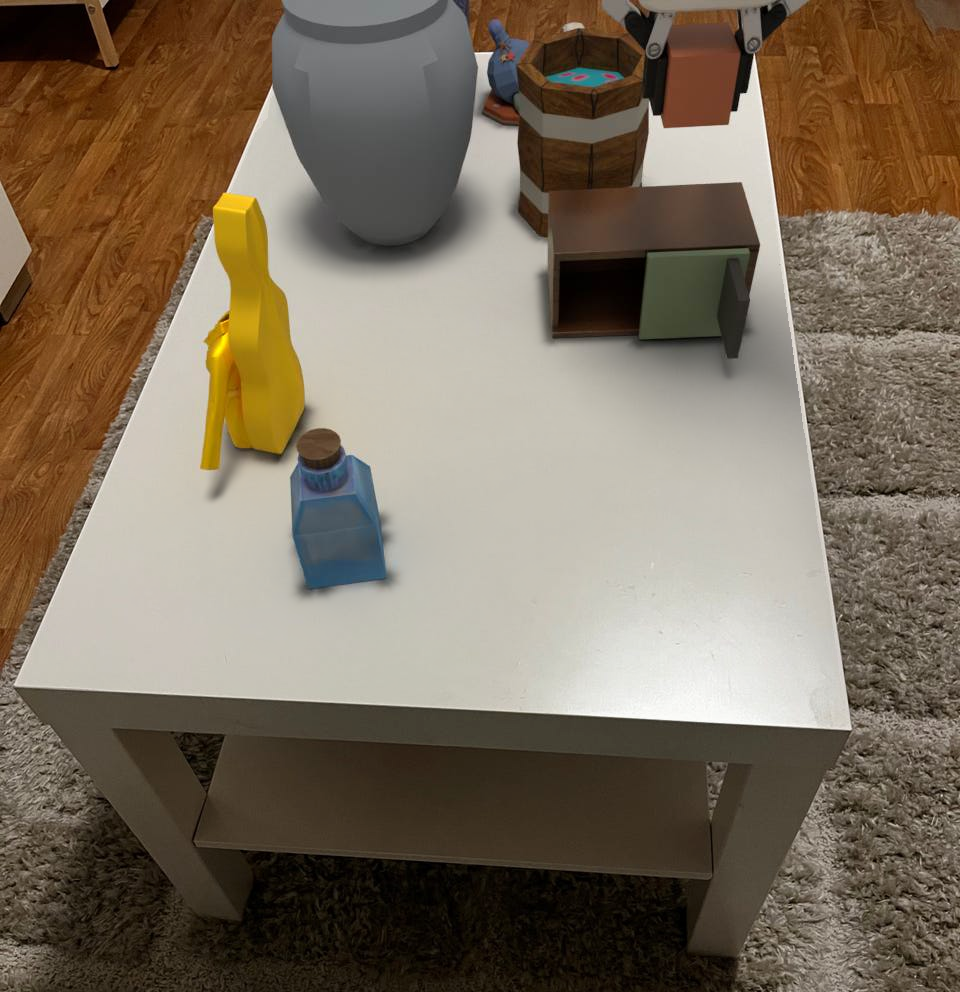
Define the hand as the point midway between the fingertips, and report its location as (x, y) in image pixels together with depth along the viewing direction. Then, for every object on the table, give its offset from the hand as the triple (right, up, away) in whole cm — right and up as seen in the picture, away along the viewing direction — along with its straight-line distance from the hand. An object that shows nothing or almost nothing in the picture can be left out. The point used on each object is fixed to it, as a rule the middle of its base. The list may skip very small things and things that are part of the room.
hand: (692, 102), depth 72 cm
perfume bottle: (-27, -33, +6) cm, 43 cm away
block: (0, 0, 0) cm, 1 cm away
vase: (-25, +4, +32) cm, 41 cm away
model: (-9, +25, +46) cm, 53 cm away
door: (+4, -14, +17) cm, 22 cm away
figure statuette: (-34, -22, +15) cm, 43 cm away
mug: (-5, +9, +35) cm, 36 cm away
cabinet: (0, -7, +23) cm, 24 cm away
